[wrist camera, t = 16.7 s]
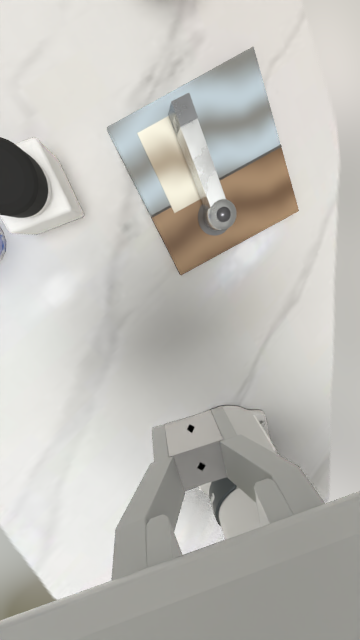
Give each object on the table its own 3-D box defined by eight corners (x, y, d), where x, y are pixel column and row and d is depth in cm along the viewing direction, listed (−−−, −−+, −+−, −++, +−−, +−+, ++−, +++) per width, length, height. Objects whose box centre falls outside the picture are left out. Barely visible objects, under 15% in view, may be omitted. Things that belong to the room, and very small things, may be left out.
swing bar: (231, 223, 34) (241, 221, 31) (209, 234, 34) (216, 234, 31) (189, 103, 29) (195, 87, 26) (162, 117, 29) (165, 102, 26)
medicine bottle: (57, 157, 30) (10, 109, 19) (85, 216, 32) (58, 204, 21) (3, 178, 30) (-78, 141, 18) (35, 235, 32) (-19, 234, 21)
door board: (293, 211, 37) (299, 210, 36) (179, 273, 37) (181, 275, 36) (249, 53, 30) (254, 45, 28) (107, 131, 30) (106, 126, 29)
